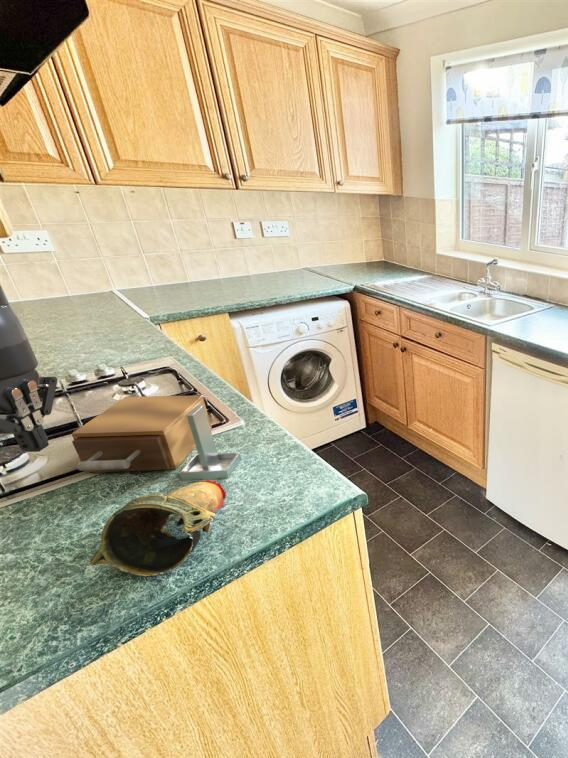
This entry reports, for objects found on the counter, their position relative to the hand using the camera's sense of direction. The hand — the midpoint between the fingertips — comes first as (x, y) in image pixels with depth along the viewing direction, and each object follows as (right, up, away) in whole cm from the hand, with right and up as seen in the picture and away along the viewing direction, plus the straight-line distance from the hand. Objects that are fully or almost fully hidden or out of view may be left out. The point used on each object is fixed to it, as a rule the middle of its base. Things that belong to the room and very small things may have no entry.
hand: (37, 449), depth 63 cm
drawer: (-1, -5, +19) cm, 20 cm away
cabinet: (-2, -4, +23) cm, 24 cm away
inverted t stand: (+13, -7, +19) cm, 24 cm away
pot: (+20, -15, +2) cm, 26 cm away
